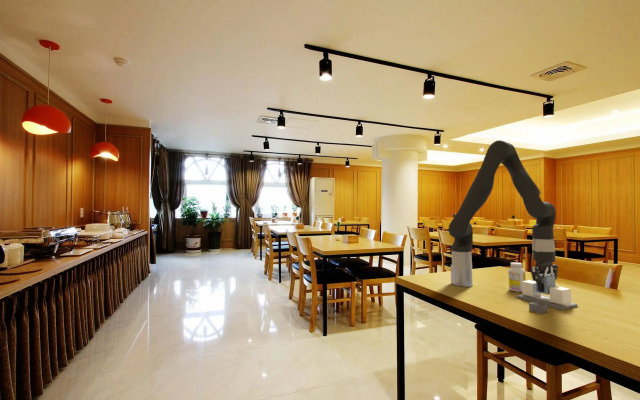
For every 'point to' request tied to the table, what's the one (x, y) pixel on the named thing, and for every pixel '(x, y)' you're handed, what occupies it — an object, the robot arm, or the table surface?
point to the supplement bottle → (516, 276)
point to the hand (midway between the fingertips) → (545, 290)
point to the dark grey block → (538, 307)
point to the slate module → (547, 284)
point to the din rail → (557, 299)
